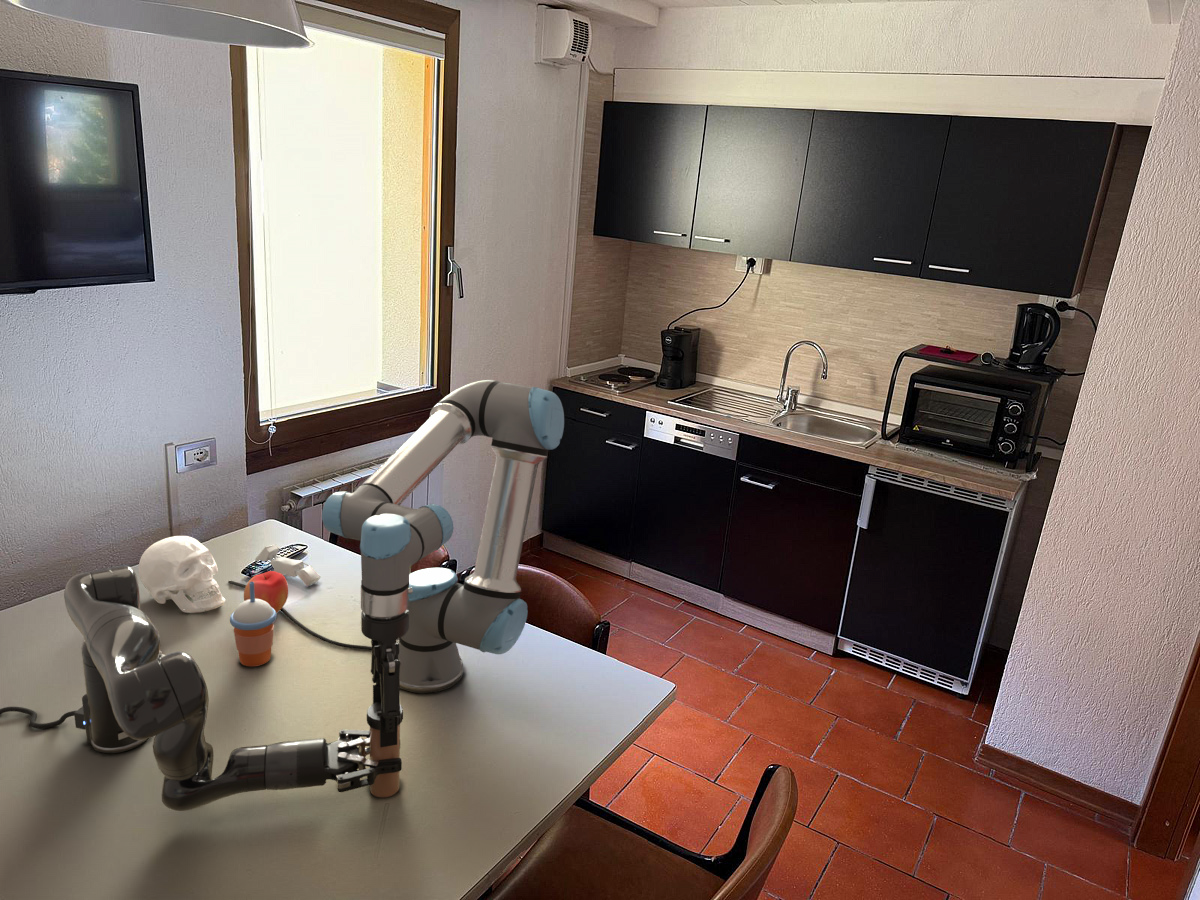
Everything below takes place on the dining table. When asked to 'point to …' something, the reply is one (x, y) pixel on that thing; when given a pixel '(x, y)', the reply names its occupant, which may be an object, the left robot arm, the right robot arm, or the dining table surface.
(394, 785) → the jar
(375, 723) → the lid
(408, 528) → the right robot arm
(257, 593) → the apple
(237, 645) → the cup with straw
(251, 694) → the dining table surface
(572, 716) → the dining table surface
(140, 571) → the skull
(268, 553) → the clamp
